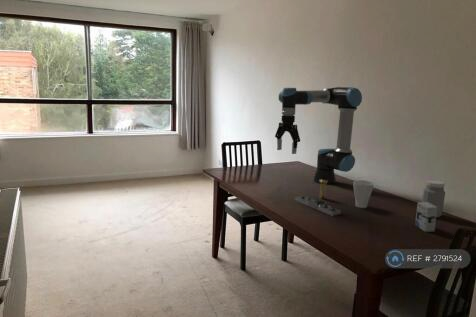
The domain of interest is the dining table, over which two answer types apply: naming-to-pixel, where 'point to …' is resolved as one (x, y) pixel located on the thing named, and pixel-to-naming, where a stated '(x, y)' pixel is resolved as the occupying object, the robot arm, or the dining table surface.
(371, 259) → the dining table surface
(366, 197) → the cup
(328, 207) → the grey long bar piece
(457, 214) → the dining table surface
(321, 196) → the pin
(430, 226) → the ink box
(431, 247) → the dining table surface
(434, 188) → the jar
